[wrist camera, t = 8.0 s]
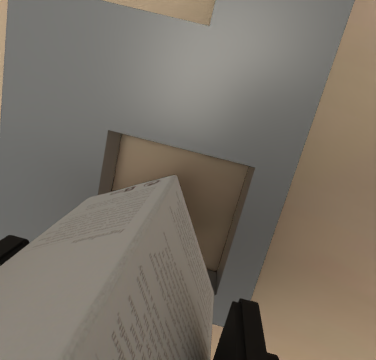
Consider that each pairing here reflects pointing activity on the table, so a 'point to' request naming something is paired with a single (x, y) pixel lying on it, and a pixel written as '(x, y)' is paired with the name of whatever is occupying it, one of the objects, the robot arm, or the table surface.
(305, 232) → the table surface
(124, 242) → the skincare box
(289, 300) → the table surface
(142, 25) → the socket plate
